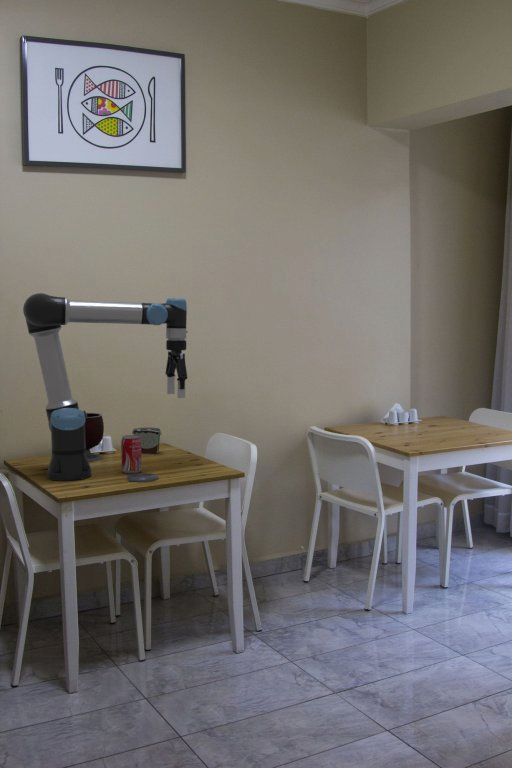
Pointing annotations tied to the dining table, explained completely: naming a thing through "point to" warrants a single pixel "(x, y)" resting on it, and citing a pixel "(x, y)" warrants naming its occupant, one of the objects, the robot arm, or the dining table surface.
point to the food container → (148, 439)
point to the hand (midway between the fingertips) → (176, 396)
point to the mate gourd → (93, 433)
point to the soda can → (131, 454)
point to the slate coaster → (142, 477)
